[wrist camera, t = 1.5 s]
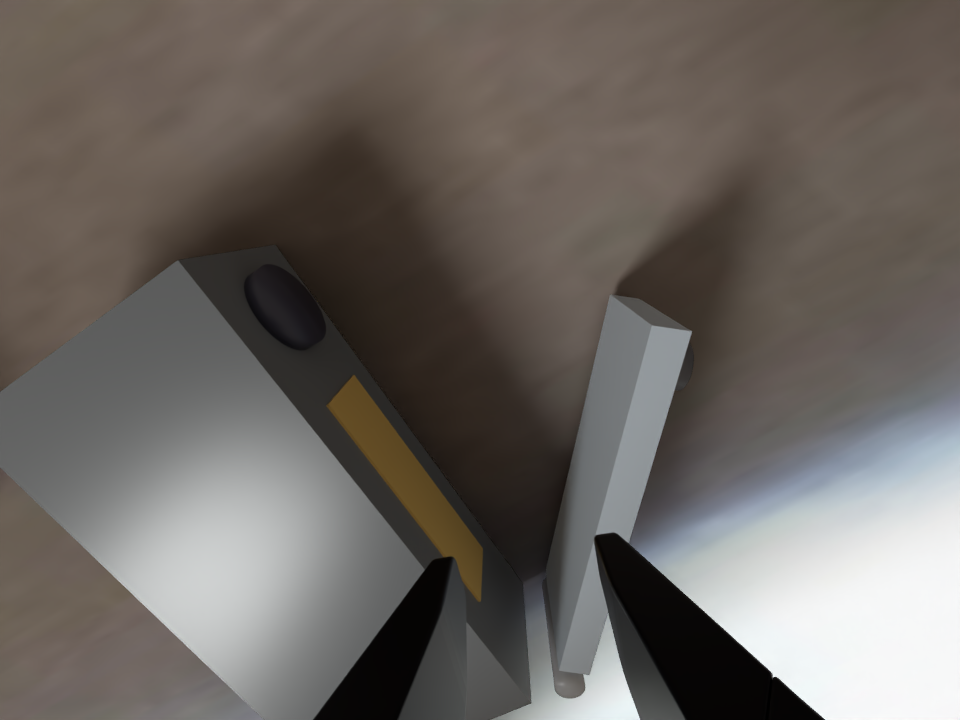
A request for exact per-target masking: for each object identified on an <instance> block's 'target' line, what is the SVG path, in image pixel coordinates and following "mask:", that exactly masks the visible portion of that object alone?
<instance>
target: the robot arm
mask: <svg viewBox="0 0 960 720" xmlns="http://www.w3.org/2000/svg"><path fill="white" fill-rule="evenodd" d="M594 545H595V551H596V558H597V564H598V570H599V576H600V580H601V585H602V589H603V593H604V597H605V601H606V605H607V609H608V613H609V617H610V621H611V625H612V629H613V633H614V637H615V641H616V645H617V650H618V654H619V658H620V661H621V665H622V668H623V672H624V675H625V678H626V681H627V684H628V687H629V690H630V693H631V695H632V698H633V701H634V703H635V706H636V709H637V712H638V714H639V717H640V720H825V719H824V718H822V717H821V716H820V715H819V714H818V713H817V712H815V711H814V710H813V709H812V708H811V707H810V706H809V705H807V704H806V703H805V702H804V701H803V700H802V699H800V698H799V697H798V696H797V695H796V694H795V693H794V692H793V691H792V690H791V689H789V688H788V687H787V686H786V685H785V684H784V683H783V682H782V681H781V680H780V679H778V678H777V677H773V675H772V673H771V672H770V671H769V670H768V669H767V668H766V667H765V666H764V665H763V664H762V663H760V662H759V661H758V660H757V659H756V658H755V657H754V656H753V655H752V654H750V653H749V652H748V651H747V650H746V649H745V648H744V647H743V646H742V645H741V644H739V643H738V642H737V641H736V640H735V639H734V638H733V637H732V636H731V635H729V634H728V633H727V632H726V631H725V630H724V629H723V628H722V627H721V626H719V625H718V624H717V623H716V622H715V621H714V620H713V619H712V618H711V617H710V616H708V615H707V614H706V613H705V612H704V611H703V610H702V609H701V608H700V607H698V606H697V605H696V604H695V603H694V602H693V601H692V600H691V599H690V598H688V597H687V596H686V595H685V594H684V593H683V592H682V591H681V590H680V589H678V588H677V587H676V586H675V585H674V584H673V583H672V582H671V581H670V580H669V579H667V578H666V577H665V576H664V575H663V574H662V573H661V572H660V571H659V570H657V569H656V568H655V567H654V566H653V565H652V564H651V563H650V562H649V561H647V560H646V559H645V558H644V557H643V556H642V555H641V554H640V553H639V552H638V551H636V550H635V549H634V548H633V547H632V546H631V545H630V544H629V543H628V542H626V541H625V540H624V539H623V538H622V537H621V536H620V535H619V534H617V533H615V532H612V533H605V534H598V535H595V537H594ZM466 698H467V632H466V596H465V590H464V586H463V583H462V579H461V576H460V572H459V568H458V565H457V561H456V559H455V558H454V557H452V556H448V557H442V558H436V559H433V560H432V561H431V562H430V563H429V565H428V566H427V567H426V569H425V570H424V571H423V573H422V574H421V575H420V577H419V578H418V579H417V581H416V582H415V583H414V585H413V586H412V587H411V589H410V590H409V591H408V593H407V594H406V595H405V597H404V598H403V599H402V601H401V602H400V603H399V605H398V606H397V607H396V609H395V610H394V611H393V613H392V614H391V615H390V617H389V618H388V619H387V621H386V622H385V623H384V625H383V626H382V628H381V629H380V630H379V632H378V633H377V634H376V636H375V637H374V638H373V640H372V641H371V642H370V644H369V645H368V646H367V648H366V649H365V650H364V652H363V653H362V654H361V656H360V657H359V658H358V660H357V661H356V662H355V664H354V665H353V666H352V668H351V669H350V670H349V672H348V673H347V674H346V676H345V677H344V678H343V680H342V681H341V682H340V684H339V685H338V686H337V688H336V689H335V690H334V692H333V693H332V694H331V696H330V697H329V698H328V700H327V701H326V702H325V704H324V705H323V706H322V708H321V709H320V710H319V712H318V713H317V715H316V716H315V717H314V719H313V720H465V712H466Z"/></svg>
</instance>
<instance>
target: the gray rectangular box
mask: <svg viewBox="0 0 960 720" xmlns="http://www.w3.org/2000/svg"><path fill="white" fill-rule="evenodd" d="M0 468H1V469H2V470H3V471H4V472H5V473H6V474H8V475H9V476H10V477H11V478H12V479H13V480H14V481H15V482H16V483H17V484H18V485H19V486H20V487H21V488H22V489H23V490H24V491H25V492H26V493H27V494H28V495H29V496H31V497H32V498H33V499H34V500H35V501H36V502H37V503H38V504H39V505H40V506H41V507H42V508H43V509H44V510H45V511H46V512H47V513H48V514H49V515H50V516H51V517H52V518H54V519H55V520H56V521H57V522H58V523H59V524H60V525H61V526H62V527H63V528H64V529H65V530H66V531H67V532H68V533H69V534H70V535H71V536H72V537H73V538H74V539H75V540H77V541H78V542H79V543H80V544H81V545H82V546H83V547H84V548H85V549H86V550H87V551H88V552H89V553H90V554H91V555H92V556H93V557H94V558H95V559H96V560H97V561H98V562H99V563H101V564H102V565H103V566H104V567H105V568H106V569H107V570H108V571H109V572H110V573H111V574H112V575H113V576H114V577H115V578H116V579H117V580H118V581H119V582H120V583H121V584H122V585H124V586H125V587H126V588H127V589H128V590H129V591H130V592H131V593H132V594H133V595H134V596H135V597H136V598H137V599H138V600H139V601H140V602H141V603H142V604H143V605H144V606H145V607H147V608H148V609H149V610H150V611H151V612H152V613H153V614H154V615H155V616H156V617H157V618H158V619H159V620H160V621H161V622H162V623H163V624H164V625H165V626H166V627H167V628H168V629H170V630H171V631H172V632H173V633H174V634H175V635H176V636H177V637H178V638H179V639H180V640H181V641H182V642H183V643H184V644H185V645H186V646H187V647H188V648H189V649H190V650H191V651H193V652H194V653H195V654H196V655H197V656H198V657H199V658H200V659H201V660H202V661H203V662H204V663H205V664H206V665H207V666H208V667H209V668H210V669H211V670H212V671H213V672H214V673H216V674H217V675H218V676H219V677H220V678H221V679H222V680H223V681H224V682H225V683H226V684H227V685H228V686H229V687H230V688H231V689H232V690H233V691H234V692H235V693H236V694H237V695H239V696H240V697H241V698H242V699H243V700H244V701H245V702H246V703H247V704H248V705H249V706H250V707H251V708H252V709H253V710H254V711H255V712H256V713H257V714H258V715H259V716H260V717H261V718H263V719H264V720H313V719H314V717H315V716H316V715H317V713H318V712H319V710H320V709H321V708H322V706H323V705H324V704H325V702H326V701H327V700H328V698H329V697H330V696H331V694H332V693H333V692H334V690H335V689H336V688H337V686H338V685H339V684H340V682H341V681H342V680H343V678H344V677H345V676H346V674H347V673H348V672H349V670H350V669H351V668H352V666H353V665H354V664H355V662H356V661H357V660H358V658H359V657H360V656H361V654H362V653H363V652H364V650H365V649H366V648H367V646H368V645H369V644H370V642H371V641H372V640H373V638H374V637H375V636H376V634H377V633H378V632H379V630H380V629H381V628H382V626H383V625H384V623H385V622H386V621H387V619H388V618H389V617H390V615H391V614H392V613H393V611H394V610H395V609H396V607H397V606H398V605H399V603H400V602H401V601H402V599H403V598H404V597H405V595H406V594H407V593H408V591H409V590H410V589H411V587H412V586H413V585H414V583H415V582H416V581H417V579H418V578H419V577H420V575H421V574H422V573H423V571H424V570H425V569H426V567H427V566H428V565H429V563H430V562H431V561H432V560H433V559H436V558H442V557H448V556H452V557H454V558H455V559H456V561H457V565H458V568H459V572H460V576H461V579H462V583H463V586H464V590H465V596H466V632H467V698H466V712H465V720H491V719H493V718H496V717H498V716H501V715H503V714H506V713H508V712H511V711H513V710H516V709H518V708H521V707H523V706H526V705H528V704H531V690H530V676H529V662H528V648H527V634H526V620H525V606H524V592H523V583H522V582H521V581H520V579H519V578H518V577H517V575H516V574H515V572H514V571H513V570H512V568H511V567H510V566H509V564H508V563H507V561H506V560H505V559H504V557H503V556H502V555H501V553H500V552H499V551H498V549H497V548H496V546H495V545H494V544H493V542H492V541H491V540H490V538H489V537H488V535H487V534H486V533H485V531H484V530H483V529H482V527H481V526H480V524H479V523H478V522H477V520H476V519H475V518H474V516H473V515H472V514H471V512H470V511H469V509H468V508H467V507H466V505H465V504H464V503H463V501H462V500H461V498H460V497H459V496H458V494H457V493H456V492H455V490H454V489H453V487H452V486H451V485H450V483H449V482H448V481H447V479H446V478H445V477H444V475H443V474H442V472H441V471H440V470H439V468H438V467H437V466H436V464H435V463H434V461H433V460H432V459H431V457H430V456H429V455H428V453H427V452H426V451H425V449H424V448H423V446H422V445H421V444H420V442H419V441H418V440H417V438H416V437H415V435H414V434H413V433H412V431H411V430H410V429H409V427H408V426H407V424H406V423H405V422H404V420H403V419H402V418H401V416H400V415H399V414H398V412H397V411H396V409H395V408H394V407H393V405H392V404H391V403H390V401H389V400H388V398H387V397H386V396H385V394H384V393H383V392H382V390H381V389H380V388H379V386H378V385H377V383H376V382H375V381H374V379H373V378H372V377H371V375H370V374H369V372H368V371H367V370H366V368H365V367H364V366H363V364H362V363H361V361H360V360H359V359H358V357H357V356H356V355H355V353H354V352H353V351H352V349H351V348H350V346H349V345H348V344H347V342H346V341H345V340H344V338H343V337H342V335H341V334H340V333H339V331H338V330H337V329H336V327H335V326H334V325H333V323H332V322H331V320H330V319H329V318H328V316H327V315H326V314H325V312H324V311H323V309H322V308H321V307H320V305H319V304H318V303H317V301H316V300H315V298H314V297H313V296H312V294H311V293H310V292H309V290H308V289H307V288H306V286H305V285H304V283H303V282H302V281H301V279H300V278H299V277H298V275H297V274H296V272H295V271H294V270H293V268H292V267H291V266H290V264H289V263H288V261H287V260H286V259H285V257H284V256H283V255H282V253H281V252H280V251H279V249H278V248H277V246H276V245H271V246H264V247H258V248H252V249H245V250H239V251H233V252H226V253H220V254H214V255H207V256H201V257H195V258H188V259H182V260H177V261H176V262H175V263H173V264H172V265H171V266H169V267H168V268H167V269H165V270H164V271H162V272H161V273H160V274H158V275H157V276H156V277H154V278H153V279H152V280H150V281H149V282H148V283H146V284H145V285H144V286H142V287H141V288H140V289H138V290H137V291H135V292H134V293H133V294H131V295H130V296H129V297H127V298H126V299H125V300H123V301H122V302H121V303H119V304H118V305H117V306H115V307H114V308H113V309H111V310H110V311H108V312H107V313H106V314H104V315H103V316H102V317H100V318H99V319H98V320H96V321H95V322H94V323H92V324H91V325H90V326H88V327H87V328H86V329H84V330H83V331H81V332H80V333H79V334H77V335H76V336H75V337H73V338H72V339H71V340H69V341H68V342H67V343H65V344H64V345H63V346H61V347H60V348H59V349H57V350H56V351H54V352H53V353H52V354H50V355H49V356H48V357H46V358H45V359H44V360H42V361H41V362H40V363H38V364H37V365H36V366H34V367H33V368H32V369H30V370H29V371H27V372H26V373H25V374H23V375H22V376H21V377H19V378H18V379H17V380H15V381H14V382H13V383H11V384H10V385H9V386H7V387H6V388H5V389H3V390H2V391H0Z"/></svg>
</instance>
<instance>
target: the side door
mask: <svg viewBox="0 0 960 720" xmlns="http://www.w3.org/2000/svg"><path fill="white" fill-rule="evenodd" d="M691 333H692V331H691V330H689V329H687V328H686V327H684V326H683V325H681V324H679V323H678V322H676V321H674V320H673V319H671V318H670V317H668V316H666V315H665V314H663V313H662V312H660V311H658V310H657V309H655V308H654V307H652V306H650V305H649V304H647V303H645V302H644V301H642V300H641V299H637V298H631V297H624V296H617V295H611V294H610V297H609V302H608V306H607V310H606V314H605V319H604V323H603V327H602V331H601V336H600V340H599V344H598V348H597V353H596V357H595V361H594V366H593V370H592V374H591V378H590V383H589V387H588V391H587V395H586V400H585V404H584V408H583V412H582V417H581V421H580V425H579V429H578V434H577V438H576V442H575V447H574V451H573V455H572V459H571V464H570V468H569V472H568V476H567V481H566V485H565V489H564V493H563V498H562V502H561V506H560V511H559V515H558V519H557V523H556V528H555V532H554V536H553V540H552V545H551V549H550V553H549V557H548V562H547V566H546V570H545V572H546V579H545V580H544V581H543V583H542V588H543V596H544V604H545V613H546V621H547V629H548V637H549V645H550V654H551V662H552V670H553V678H554V686H555V691H556V693H557V694H558V695H559V696H561V697H564V698H576V697H578V696H580V695H581V694H583V692H584V691H585V683H584V677H583V674H586V675H589V674H590V671H591V668H592V664H593V661H594V657H595V654H596V651H597V647H598V644H599V641H600V637H601V634H602V631H603V627H604V624H605V621H606V617H607V614H608V609H607V605H606V601H605V597H604V593H603V589H602V585H601V580H600V576H599V570H598V564H597V558H596V551H595V545H594V537H595V535H598V534H605V533H612V532H615V533H617V534H619V535H620V536H621V537H622V538H623V539H624V540H625V541H626V542H628V543H629V541H630V537H631V534H632V531H633V527H634V524H635V520H636V517H637V514H638V510H639V507H640V504H641V500H642V497H643V494H644V490H645V487H646V484H647V480H648V477H649V474H650V470H651V467H652V464H653V460H654V457H655V454H656V450H657V447H658V444H659V440H660V437H661V434H662V430H663V427H664V424H665V420H666V417H667V414H668V410H669V407H670V404H671V400H672V397H673V393H674V390H678V391H679V390H682V389H683V388H684V387H685V386H686V385H687V383H688V381H689V379H690V377H691V374H692V369H693V362H694V355H693V349H692V346H691V345H690V343H689V340H690V337H691Z"/></svg>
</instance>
